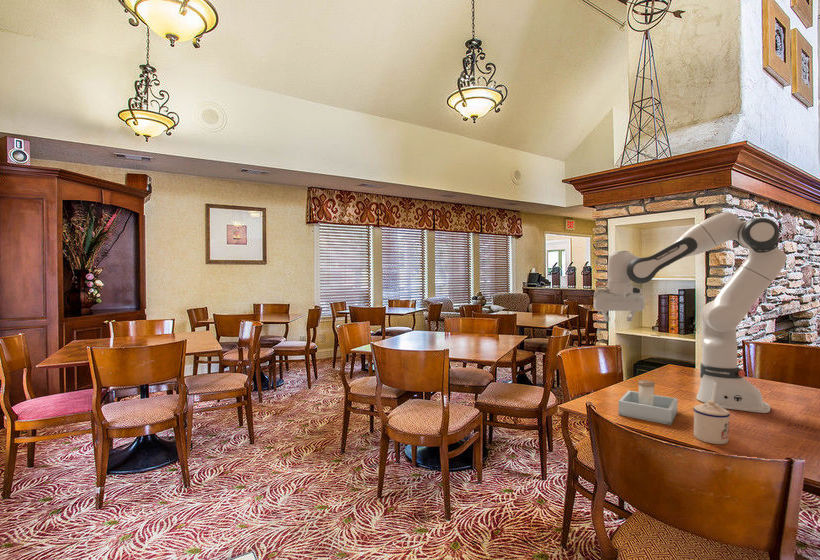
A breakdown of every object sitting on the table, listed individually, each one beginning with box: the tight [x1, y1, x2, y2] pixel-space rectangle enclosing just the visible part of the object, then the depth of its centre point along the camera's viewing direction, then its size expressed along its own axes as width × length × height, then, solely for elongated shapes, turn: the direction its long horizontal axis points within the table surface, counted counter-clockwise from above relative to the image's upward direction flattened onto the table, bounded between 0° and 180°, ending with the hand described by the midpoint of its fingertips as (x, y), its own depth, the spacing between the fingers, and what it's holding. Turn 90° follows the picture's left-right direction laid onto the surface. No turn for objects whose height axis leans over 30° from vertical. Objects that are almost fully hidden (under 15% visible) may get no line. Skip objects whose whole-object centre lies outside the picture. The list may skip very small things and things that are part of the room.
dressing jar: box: [637, 379, 656, 406], centre depth 153 cm, size 5×5×10 cm
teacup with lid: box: [693, 400, 731, 445], centre depth 130 cm, size 12×9×12 cm
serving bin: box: [617, 390, 678, 426], centre depth 151 cm, size 16×16×5 cm
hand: (618, 321), depth 182 cm, fingers open, 8 cm apart
